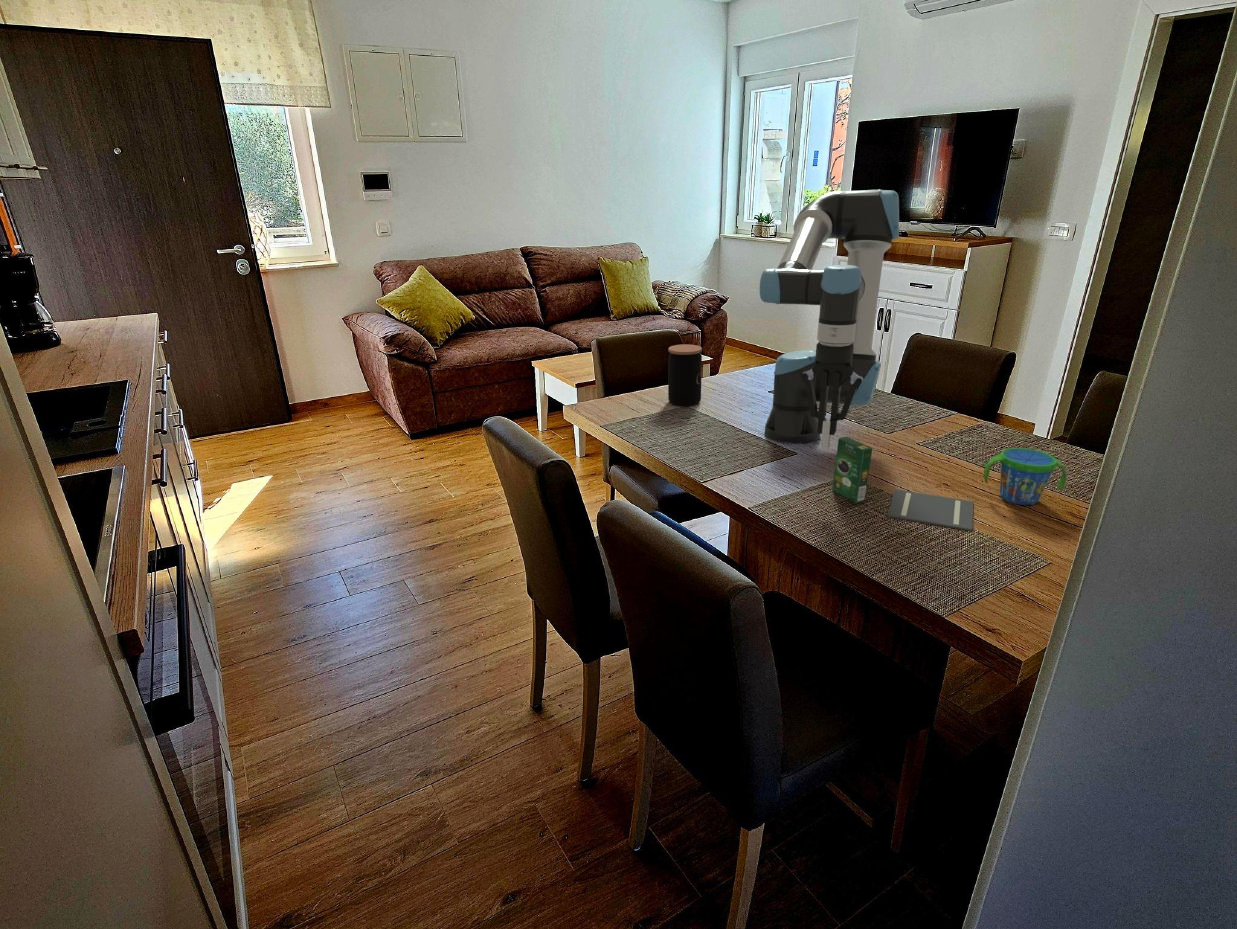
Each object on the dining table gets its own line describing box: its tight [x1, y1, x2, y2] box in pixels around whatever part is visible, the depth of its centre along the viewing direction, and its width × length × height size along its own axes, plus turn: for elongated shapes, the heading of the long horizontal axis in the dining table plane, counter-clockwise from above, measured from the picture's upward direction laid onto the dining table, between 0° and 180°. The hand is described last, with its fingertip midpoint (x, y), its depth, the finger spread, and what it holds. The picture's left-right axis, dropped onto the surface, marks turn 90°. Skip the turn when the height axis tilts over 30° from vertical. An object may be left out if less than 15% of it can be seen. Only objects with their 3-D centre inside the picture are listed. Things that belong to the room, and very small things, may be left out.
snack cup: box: [983, 447, 1068, 506], centre depth 146 cm, size 16×10×10 cm
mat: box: [887, 489, 974, 532], centre depth 144 cm, size 16×14×1 cm
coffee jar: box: [667, 343, 703, 408], centre depth 216 cm, size 11×11×18 cm
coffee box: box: [832, 436, 873, 504], centre depth 149 cm, size 8×3×13 cm, turn 25°
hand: (825, 447), depth 150 cm, fingers closed
